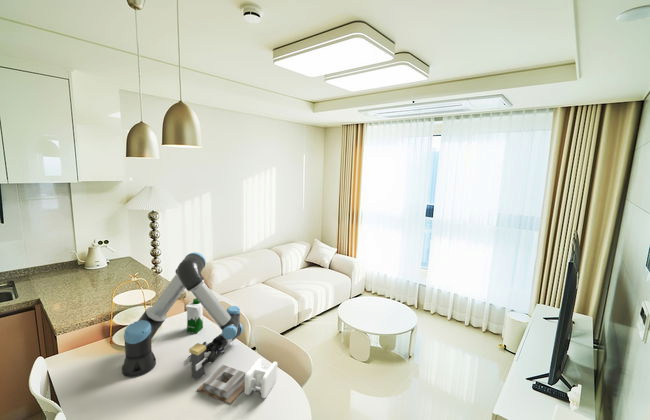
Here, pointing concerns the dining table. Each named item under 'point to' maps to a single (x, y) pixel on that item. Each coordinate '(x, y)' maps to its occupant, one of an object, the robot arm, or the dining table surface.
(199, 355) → the plug
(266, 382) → the cable organizer
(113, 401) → the dining table surface
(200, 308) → the milk carton
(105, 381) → the dining table surface
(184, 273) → the robot arm
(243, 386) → the socket
